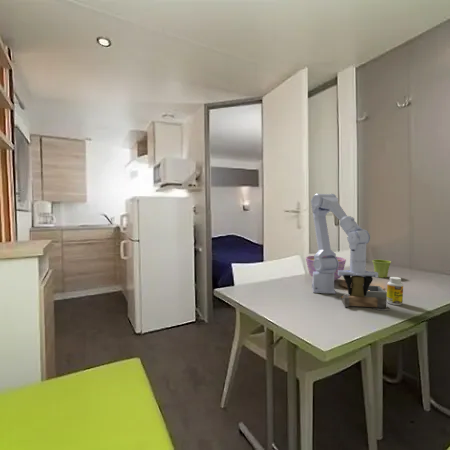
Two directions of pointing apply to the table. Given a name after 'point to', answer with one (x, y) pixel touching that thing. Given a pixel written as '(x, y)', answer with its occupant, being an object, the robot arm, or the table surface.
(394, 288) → the supplement bottle
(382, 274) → the plant pot
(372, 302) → the crank
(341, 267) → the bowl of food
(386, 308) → the crank base
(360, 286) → the olive rounded piece
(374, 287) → the tray
